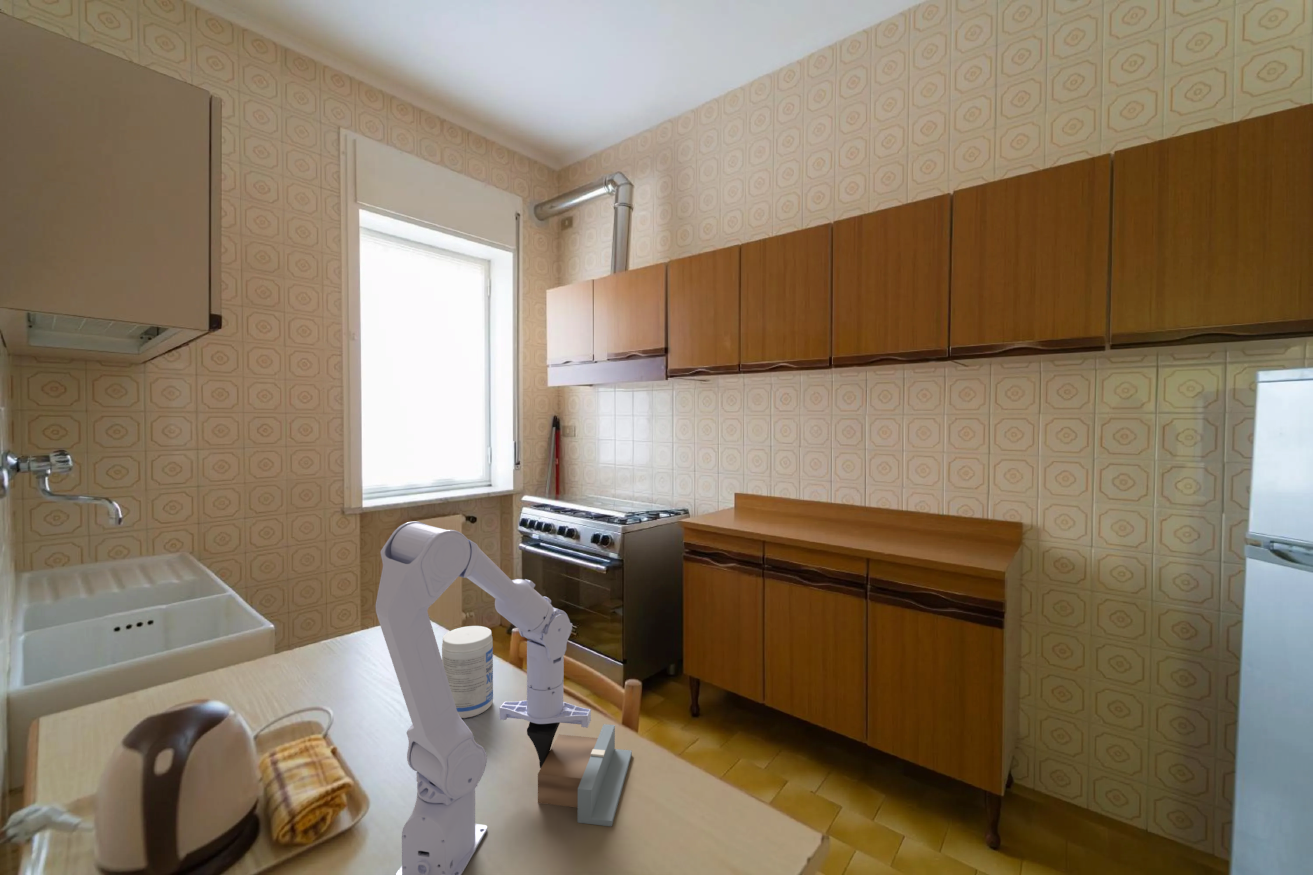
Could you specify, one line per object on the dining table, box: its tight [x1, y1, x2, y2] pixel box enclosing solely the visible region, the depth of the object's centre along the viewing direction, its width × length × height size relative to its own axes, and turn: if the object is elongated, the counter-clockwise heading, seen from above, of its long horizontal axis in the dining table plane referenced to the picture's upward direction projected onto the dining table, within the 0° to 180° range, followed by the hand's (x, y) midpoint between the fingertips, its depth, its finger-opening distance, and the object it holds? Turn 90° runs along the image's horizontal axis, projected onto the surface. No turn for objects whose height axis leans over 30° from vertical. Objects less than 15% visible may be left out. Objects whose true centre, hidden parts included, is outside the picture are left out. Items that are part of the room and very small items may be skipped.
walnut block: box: [537, 734, 598, 808], centre depth 84 cm, size 10×7×4 cm
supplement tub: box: [441, 625, 494, 719], centre depth 105 cm, size 10×10×15 cm
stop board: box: [577, 723, 633, 827], centre depth 83 cm, size 16×5×5 cm, turn 172°
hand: (544, 764), depth 84 cm, fingers closed
